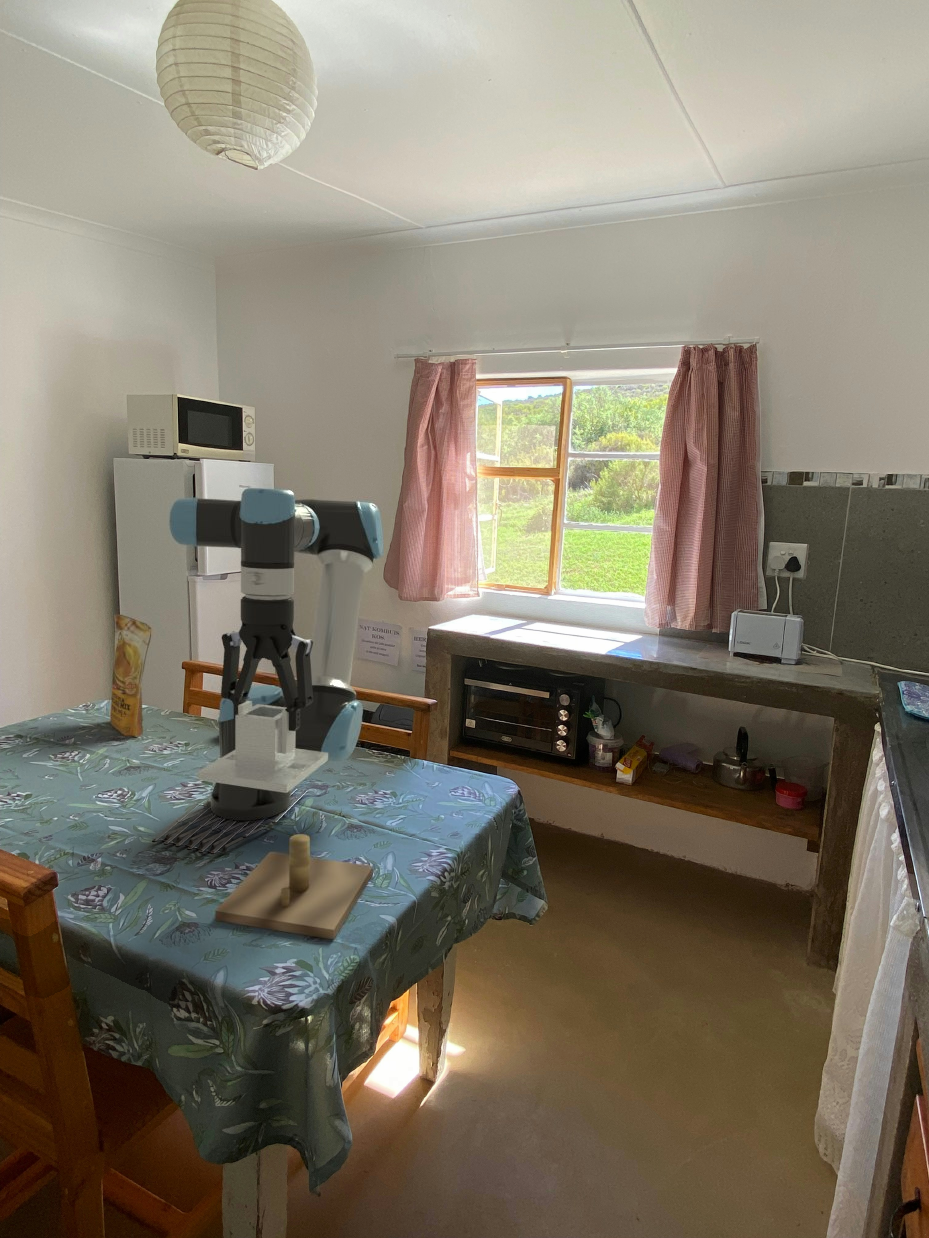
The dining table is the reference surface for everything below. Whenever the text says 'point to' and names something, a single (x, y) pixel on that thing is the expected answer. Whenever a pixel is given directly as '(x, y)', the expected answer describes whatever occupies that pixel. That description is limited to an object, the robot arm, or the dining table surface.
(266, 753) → the flange
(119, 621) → the pancake mix bag
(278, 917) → the post board
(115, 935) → the dining table surface
